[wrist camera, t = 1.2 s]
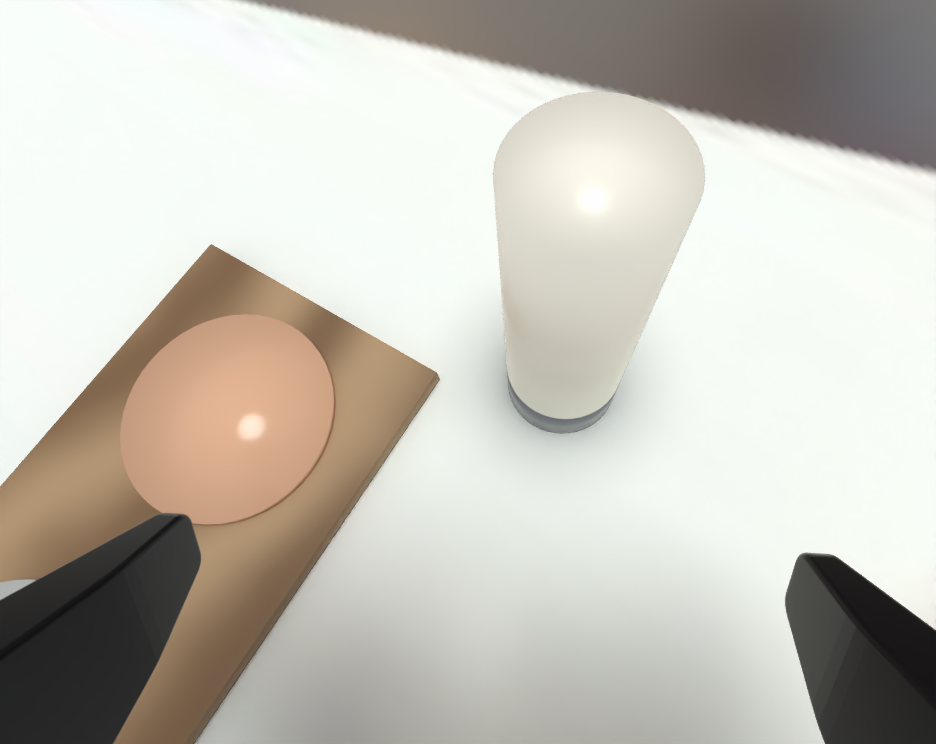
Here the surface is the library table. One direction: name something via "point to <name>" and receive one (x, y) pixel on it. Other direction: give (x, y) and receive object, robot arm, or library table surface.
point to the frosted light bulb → (586, 245)
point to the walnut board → (222, 546)
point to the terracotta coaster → (228, 419)
